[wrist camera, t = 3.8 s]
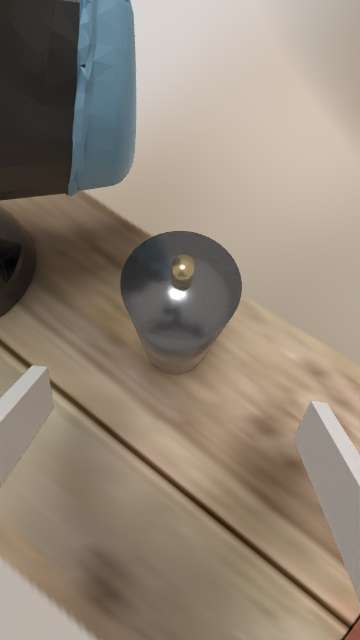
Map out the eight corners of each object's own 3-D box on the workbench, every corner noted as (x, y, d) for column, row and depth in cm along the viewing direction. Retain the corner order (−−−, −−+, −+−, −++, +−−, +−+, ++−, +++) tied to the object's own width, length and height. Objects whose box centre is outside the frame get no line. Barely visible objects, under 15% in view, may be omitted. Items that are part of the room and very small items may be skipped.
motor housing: (134, 339, 26) (86, 253, 11) (180, 306, 27) (192, 189, 12) (170, 387, 24) (171, 361, 9) (216, 349, 26) (280, 276, 11)
